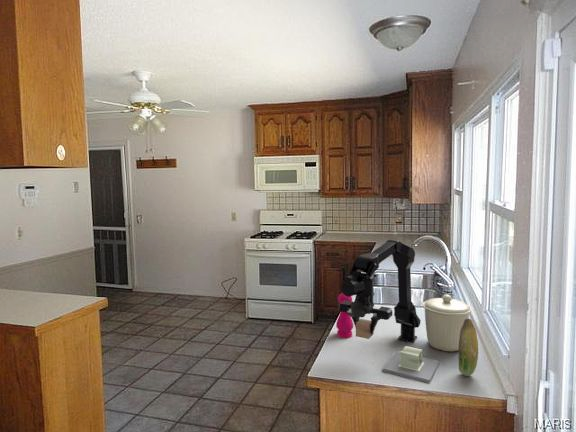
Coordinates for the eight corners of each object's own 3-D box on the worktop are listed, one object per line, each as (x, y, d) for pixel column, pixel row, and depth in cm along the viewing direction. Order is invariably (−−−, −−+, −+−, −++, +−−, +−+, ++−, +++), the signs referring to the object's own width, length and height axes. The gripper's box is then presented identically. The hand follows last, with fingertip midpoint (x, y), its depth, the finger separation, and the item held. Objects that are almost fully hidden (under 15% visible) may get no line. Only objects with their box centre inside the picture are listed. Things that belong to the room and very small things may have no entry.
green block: (405, 359, 149) (405, 346, 148) (422, 363, 146) (422, 349, 145) (400, 365, 144) (400, 352, 143) (417, 369, 141) (418, 356, 140)
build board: (395, 353, 156) (395, 351, 156) (439, 363, 148) (439, 360, 148) (382, 371, 142) (382, 368, 142) (429, 382, 134) (429, 379, 134)
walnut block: (360, 331, 153) (360, 318, 152) (373, 334, 150) (373, 321, 149) (355, 336, 148) (355, 322, 148) (368, 339, 146) (369, 325, 145)
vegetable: (479, 375, 139) (482, 318, 137) (473, 383, 134) (476, 324, 132) (461, 370, 143) (463, 314, 141) (454, 376, 138) (457, 319, 136)
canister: (466, 339, 169) (468, 290, 167) (473, 358, 152) (476, 303, 149) (420, 335, 174) (421, 287, 172) (422, 353, 156) (424, 299, 154)
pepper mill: (340, 339, 170) (340, 292, 168) (333, 333, 177) (333, 287, 175) (356, 337, 172) (356, 291, 170) (349, 331, 179) (349, 286, 177)
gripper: (332, 292, 145) (332, 334, 147) (383, 300, 136) (382, 345, 137) (344, 285, 155) (344, 325, 157) (393, 292, 145) (392, 334, 147)
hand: (364, 332), depth 149 cm, fingers closed on walnut block, 5 cm apart
